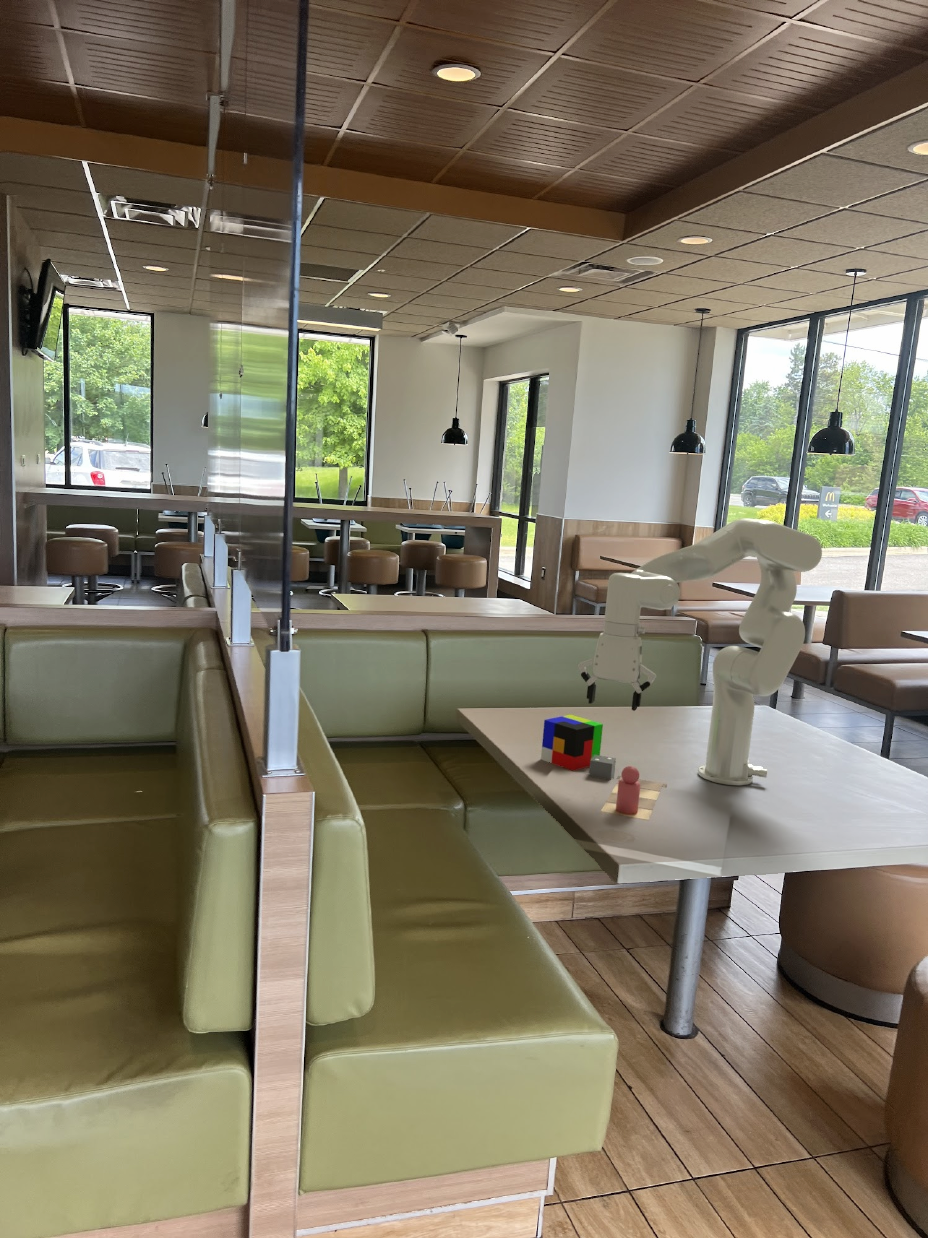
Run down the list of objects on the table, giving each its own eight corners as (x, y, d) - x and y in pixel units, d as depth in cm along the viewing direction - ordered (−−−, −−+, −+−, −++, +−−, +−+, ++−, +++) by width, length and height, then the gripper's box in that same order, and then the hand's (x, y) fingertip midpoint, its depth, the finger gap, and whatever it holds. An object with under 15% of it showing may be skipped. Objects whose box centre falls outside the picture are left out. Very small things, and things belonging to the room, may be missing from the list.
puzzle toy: (540, 759, 222) (544, 719, 220) (566, 753, 229) (570, 714, 227) (573, 771, 215) (577, 729, 213) (598, 764, 222) (602, 724, 220)
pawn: (638, 809, 188) (643, 765, 187) (635, 816, 184) (640, 771, 182) (617, 805, 189) (622, 762, 188) (614, 812, 185) (618, 767, 184)
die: (613, 779, 211) (616, 757, 210) (610, 785, 206) (612, 763, 206) (592, 775, 213) (594, 754, 212) (588, 781, 208) (590, 760, 207)
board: (666, 788, 207) (666, 783, 207) (650, 827, 182) (651, 822, 181) (617, 780, 210) (618, 774, 210) (596, 817, 185) (596, 811, 185)
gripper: (663, 633, 200) (654, 708, 203) (586, 622, 206) (578, 696, 209) (657, 637, 193) (648, 715, 196) (578, 626, 199) (570, 703, 202)
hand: (612, 706), depth 202 cm, fingers open, 9 cm apart
